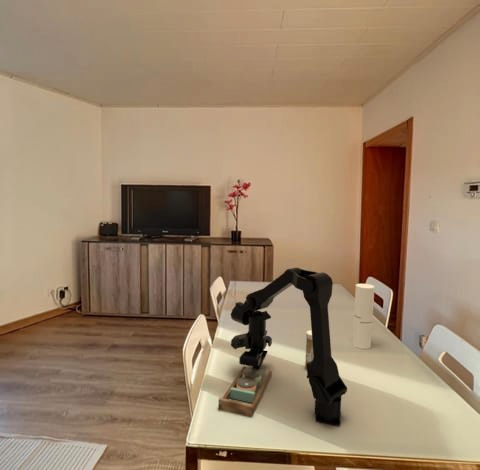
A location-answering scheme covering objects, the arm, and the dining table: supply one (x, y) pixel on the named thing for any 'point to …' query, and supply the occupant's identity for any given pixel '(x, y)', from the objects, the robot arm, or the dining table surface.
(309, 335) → the sprinkles bottle
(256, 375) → the green jar
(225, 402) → the lane
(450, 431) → the dining table surface
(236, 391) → the pusher
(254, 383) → the terracotta jar
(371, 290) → the cylindrical container
